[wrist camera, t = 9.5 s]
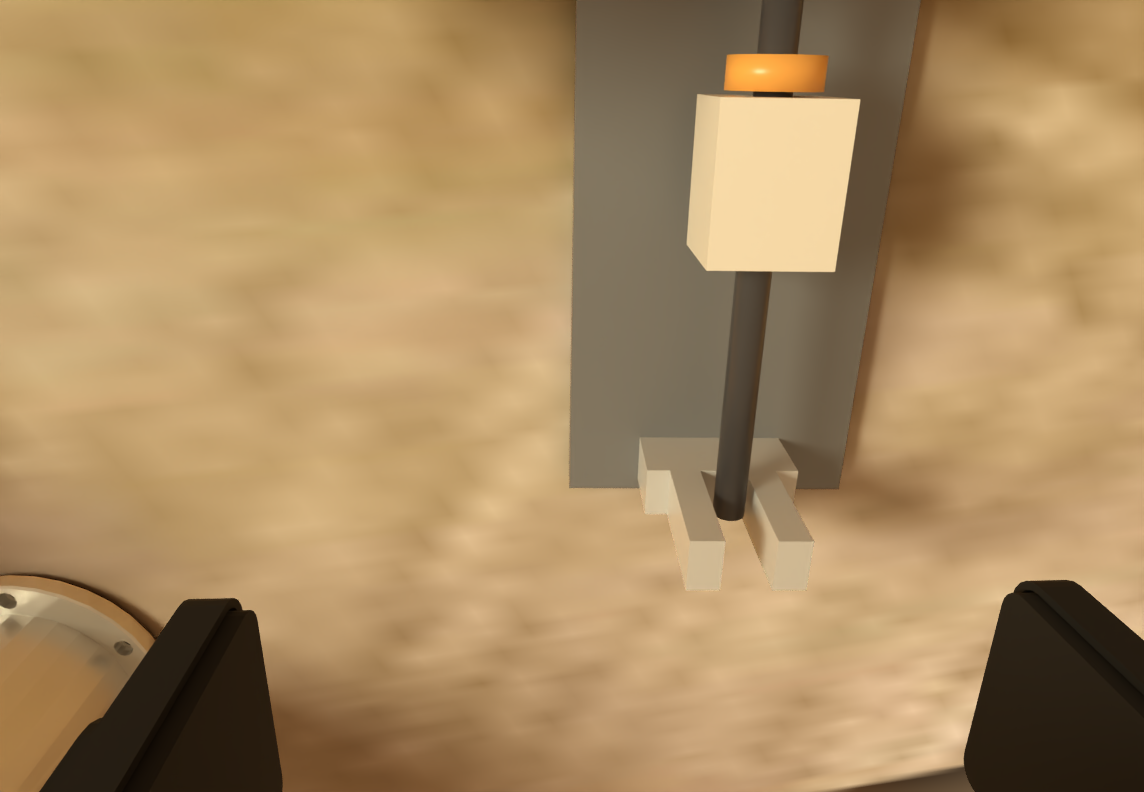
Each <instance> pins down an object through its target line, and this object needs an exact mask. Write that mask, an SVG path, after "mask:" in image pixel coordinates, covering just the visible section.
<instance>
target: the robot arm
mask: <svg viewBox="0 0 1144 792" xmlns="http://www.w3.org/2000/svg"><path fill="white" fill-rule="evenodd" d="M964 767H965V771H966V775H967V778H968V780H969V783H970V784H971V786H972V788H973V790H974V791H975V792H1144V640H1143V639H1141V638H1140V637H1139V636H1138V635H1137V634H1136V633H1134V632H1133V631H1132V630H1131V629H1130V628H1129V627H1128V626H1126V625H1125V624H1124V623H1123V622H1122V621H1121V620H1119V619H1118V618H1117V617H1116V616H1115V615H1114V614H1113V613H1111V612H1110V611H1109V610H1108V609H1107V608H1106V607H1105V606H1103V605H1102V604H1101V603H1100V602H1099V601H1098V600H1096V599H1095V598H1094V597H1093V596H1092V595H1091V594H1090V593H1088V592H1087V591H1086V590H1085V589H1084V588H1083V587H1081V586H1080V585H1078V584H1077V583H1075V582H1074V581H1069V580H1047V581H1025V582H1022V583H1020V584H1019V585H1018V586H1017V587H1016V588H1015V590H1014V593H1011V594H1008V595H1007V596H1006V597H1005V598H1004V600H1003V603H1002V606H1001V610H1000V614H999V618H998V622H997V626H996V630H995V634H994V638H993V642H992V646H991V650H990V654H989V658H988V662H987V665H986V669H985V673H984V677H983V681H982V685H981V689H980V693H979V697H978V701H977V705H976V709H975V713H974V717H973V721H972V725H971V729H970V733H969V737H968V741H967V744H966V748H965V753H964ZM282 784H283V782H282V773H281V767H280V760H279V754H278V748H277V741H276V735H275V729H274V722H273V716H272V710H271V703H270V697H269V691H268V684H267V678H266V672H265V665H264V659H263V653H262V646H261V640H260V634H259V627H258V621H257V617H256V614H255V613H254V611H252V610H242V606H241V604H240V602H239V601H238V600H237V599H235V598H224V599H188V600H185V601H184V602H183V603H182V604H181V605H180V606H179V607H178V608H177V610H176V611H175V613H174V614H173V616H172V617H171V619H170V620H169V622H168V623H167V624H166V626H165V627H164V629H163V630H162V632H161V633H160V635H159V636H158V638H157V639H156V640H154V638H153V637H152V636H151V634H150V633H149V632H148V631H147V630H146V629H145V628H144V627H142V626H141V625H140V624H139V623H138V622H137V621H136V620H135V619H134V618H133V617H132V616H131V615H129V614H128V613H126V612H125V611H123V610H122V609H120V608H119V607H118V606H116V605H115V604H113V603H112V602H110V601H108V600H106V599H104V598H102V597H100V596H98V595H96V594H94V593H92V592H90V591H88V590H86V589H83V588H80V587H77V586H74V585H71V584H68V583H65V582H62V581H57V580H52V579H47V578H41V577H36V576H16V575H6V576H0V792H282Z"/></svg>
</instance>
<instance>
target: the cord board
mask: <svg viewBox="0 0 1144 792" xmlns="http://www.w3.org/2000/svg"><path fill="white" fill-rule="evenodd" d="M920 2H921V0H576V39H575V109H574V178H573V248H572V318H571V387H570V457H569V488H640V493H641V498H642V503H643V508H644V513H645V514H667V517H668V521H669V525H670V529H671V533H672V537H673V541H674V545H675V549H676V553H677V557H678V561H679V565H680V570H681V574H682V578H683V582H684V586H685V590H697V591H720V589H721V579H722V570H723V560H724V551H725V542H726V541H725V538H724V536H723V533H722V530H721V527H720V524H719V522H718V519H717V517H718V518H720V519H723V520H727V521H736V520H740V519H743V522H744V524H745V526H746V529H747V531H748V534H749V536H750V539H751V541H752V543H753V546H754V548H755V551H756V553H757V555H758V558H759V560H760V563H761V565H762V567H763V570H764V572H765V575H766V577H767V580H768V582H769V584H770V587H771V589H772V591H807V585H808V578H809V572H810V566H811V560H812V553H813V547H814V540H813V538H812V536H811V535H810V533H809V531H808V529H807V527H806V525H805V524H804V522H803V520H802V518H801V516H800V515H799V513H798V511H797V509H796V507H795V505H794V497H795V490H796V489H839V484H840V478H841V472H842V466H843V460H844V454H845V448H846V442H847V436H848V430H849V424H850V418H851V412H852V406H853V400H854V394H855V389H856V383H857V377H858V371H859V365H860V359H861V353H862V347H863V341H864V335H865V329H866V323H867V317H868V311H869V305H870V299H871V293H872V288H873V282H874V276H875V270H876V264H877V258H878V252H879V246H880V240H881V234H882V228H883V222H884V216H885V210H886V204H887V198H888V192H889V187H890V181H891V175H892V169H893V163H894V157H895V151H896V145H897V139H898V133H899V127H900V121H901V115H902V109H903V103H904V97H905V91H906V86H907V80H908V74H909V68H910V62H911V56H912V50H913V44H914V38H915V32H916V26H917V20H918V14H919V8H920ZM697 94H729V95H753V97H793V95H797V96H826V97H838V98H851V99H860V106H859V113H858V119H857V126H856V133H855V140H854V146H853V153H852V160H851V167H850V173H849V180H848V187H847V194H846V201H845V207H844V214H843V221H842V228H841V234H840V241H839V248H838V255H837V261H836V268H835V272H780V271H706V270H705V268H704V267H703V266H702V264H701V263H700V262H699V260H698V259H697V258H696V256H695V255H694V254H693V252H692V251H691V250H690V248H689V247H688V246H687V231H688V217H689V203H690V189H691V175H692V161H693V147H694V133H695V119H696V105H697Z"/></svg>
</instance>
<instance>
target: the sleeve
mask: <svg viewBox="0 0 1144 792" xmlns="http://www.w3.org/2000/svg"><path fill="white" fill-rule="evenodd" d="M859 106H860V99H851V98H838V97H826V96H797V95H793V97H753V95H729V94H697V105H696V119H695V133H694V147H693V161H692V175H691V189H690V203H689V217H688V231H687V246H688V247H689V248H690V250H691V251H692V252H693V254H694V255H695V256H696V258H697V259H698V260H699V262H700V263H701V264H702V266H703V267H704V268H705V270H706V271H780V272H835V268H836V261H837V255H838V248H839V241H840V234H841V228H842V221H843V214H844V207H845V201H846V194H847V187H848V180H849V173H850V167H851V160H852V153H853V146H854V140H855V133H856V126H857V119H858V113H859Z"/></svg>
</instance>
